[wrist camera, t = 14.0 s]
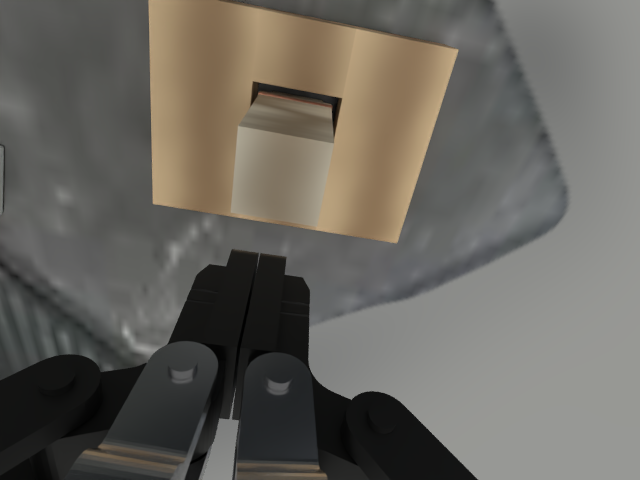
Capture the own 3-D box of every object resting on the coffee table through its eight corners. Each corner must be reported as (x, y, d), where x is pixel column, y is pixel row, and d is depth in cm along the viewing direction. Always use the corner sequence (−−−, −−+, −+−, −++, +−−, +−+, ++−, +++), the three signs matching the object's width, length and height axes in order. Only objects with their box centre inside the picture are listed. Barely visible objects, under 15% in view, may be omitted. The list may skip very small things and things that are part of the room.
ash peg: (258, 145, 28) (229, 213, 19) (265, 81, 26) (237, 124, 17) (319, 156, 28) (317, 227, 19) (331, 94, 26) (335, 142, 17)
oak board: (168, 185, 29) (152, 203, 27) (167, -13, 23) (148, -14, 21) (390, 222, 30) (397, 243, 28) (444, 44, 25) (458, 49, 22)
